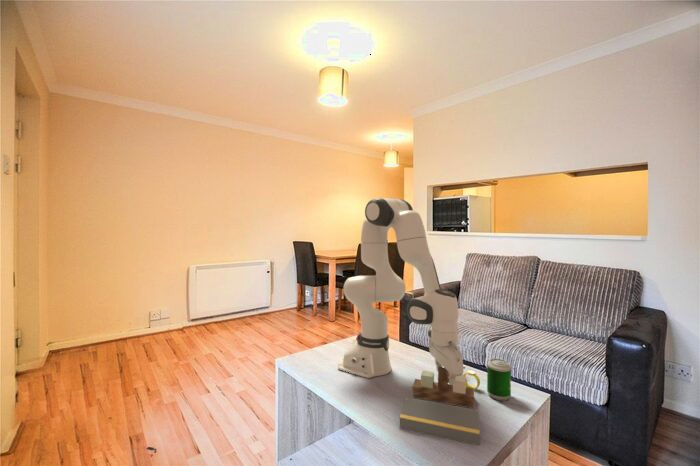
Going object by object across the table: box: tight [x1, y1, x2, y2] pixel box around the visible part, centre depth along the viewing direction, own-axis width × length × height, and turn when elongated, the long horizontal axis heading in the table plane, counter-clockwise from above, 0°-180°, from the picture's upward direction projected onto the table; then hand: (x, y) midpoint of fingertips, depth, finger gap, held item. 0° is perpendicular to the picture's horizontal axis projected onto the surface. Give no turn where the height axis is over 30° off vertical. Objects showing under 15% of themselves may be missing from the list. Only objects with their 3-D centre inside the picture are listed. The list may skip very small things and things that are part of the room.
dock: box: [399, 397, 481, 446], centre depth 97 cm, size 22×12×3 cm, turn 70°
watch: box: [462, 369, 481, 391], centre depth 118 cm, size 6×3×6 cm, turn 43°
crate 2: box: [453, 375, 467, 394], centre depth 109 cm, size 4×4×4 cm
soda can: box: [486, 358, 512, 401], centre depth 112 cm, size 8×8×12 cm
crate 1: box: [420, 370, 435, 389], centre depth 113 cm, size 4×4×4 cm
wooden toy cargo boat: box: [412, 366, 475, 409], centre depth 111 cm, size 20×6×10 cm, turn 70°
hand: (445, 377), depth 111 cm, fingers open, 8 cm apart
